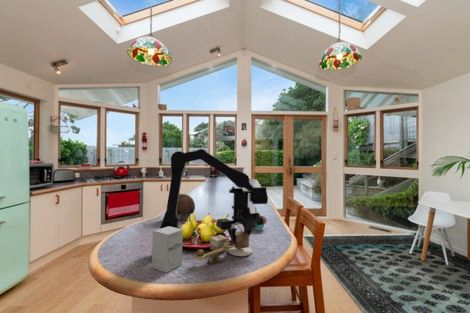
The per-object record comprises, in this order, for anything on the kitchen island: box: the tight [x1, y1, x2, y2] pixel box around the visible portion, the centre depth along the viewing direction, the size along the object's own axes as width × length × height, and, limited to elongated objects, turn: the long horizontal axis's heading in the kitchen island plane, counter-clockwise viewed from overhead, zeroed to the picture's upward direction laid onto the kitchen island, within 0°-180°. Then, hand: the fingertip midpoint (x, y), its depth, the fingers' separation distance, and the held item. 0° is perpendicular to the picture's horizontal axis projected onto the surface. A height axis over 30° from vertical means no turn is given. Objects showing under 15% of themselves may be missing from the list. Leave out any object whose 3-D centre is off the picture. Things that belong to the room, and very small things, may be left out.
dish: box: [227, 246, 253, 257], centre depth 99 cm, size 10×10×1 cm
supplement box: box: [151, 226, 184, 273], centre depth 86 cm, size 7×7×13 cm
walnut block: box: [231, 230, 250, 249], centre depth 99 cm, size 5×5×5 cm
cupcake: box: [253, 206, 268, 231], centre depth 131 cm, size 9×8×12 cm
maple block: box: [209, 234, 229, 254], centre depth 102 cm, size 5×5×5 cm
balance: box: [193, 241, 235, 266], centre depth 90 cm, size 16×4×6 cm, turn 118°
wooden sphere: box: [177, 193, 196, 221], centre depth 146 cm, size 15×15×15 cm
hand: (240, 243), depth 99 cm, fingers closed on walnut block, 5 cm apart
